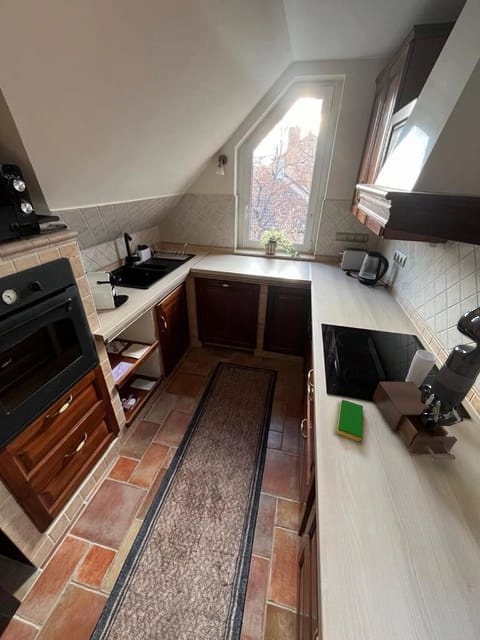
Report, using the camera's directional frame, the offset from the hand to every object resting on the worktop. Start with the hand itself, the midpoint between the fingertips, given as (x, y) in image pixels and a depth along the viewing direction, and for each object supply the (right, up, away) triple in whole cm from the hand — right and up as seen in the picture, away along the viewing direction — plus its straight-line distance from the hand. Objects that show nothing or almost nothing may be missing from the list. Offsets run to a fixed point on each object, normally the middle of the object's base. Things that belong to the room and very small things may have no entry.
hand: (428, 423), depth 77 cm
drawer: (0, -7, +4) cm, 8 cm away
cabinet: (0, -2, +13) cm, 14 cm away
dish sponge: (-20, -4, +10) cm, 22 cm away
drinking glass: (+13, +5, +27) cm, 30 cm away
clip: (0, 0, 0) cm, 0 cm away
